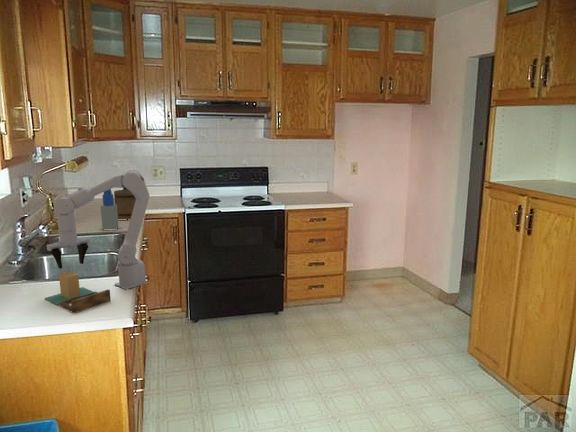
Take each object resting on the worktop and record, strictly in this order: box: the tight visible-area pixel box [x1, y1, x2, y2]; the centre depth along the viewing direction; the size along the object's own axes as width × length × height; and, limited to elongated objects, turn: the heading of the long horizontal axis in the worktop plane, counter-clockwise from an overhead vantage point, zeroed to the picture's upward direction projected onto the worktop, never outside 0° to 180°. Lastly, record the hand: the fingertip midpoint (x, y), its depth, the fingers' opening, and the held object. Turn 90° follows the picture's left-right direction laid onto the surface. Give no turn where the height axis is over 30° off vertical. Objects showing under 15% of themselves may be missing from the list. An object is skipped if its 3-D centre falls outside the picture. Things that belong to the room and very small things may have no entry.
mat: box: [44, 286, 94, 306], centre depth 163 cm, size 14×10×1 cm
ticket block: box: [58, 271, 81, 299], centre depth 162 cm, size 4×6×8 cm, turn 52°
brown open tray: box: [58, 289, 111, 314], centre depth 156 cm, size 13×10×4 cm
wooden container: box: [113, 186, 136, 219], centre depth 295 cm, size 15×15×22 cm
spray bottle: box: [100, 188, 119, 230], centre depth 264 cm, size 9×9×25 cm
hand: (71, 265), depth 168 cm, fingers open, 7 cm apart
